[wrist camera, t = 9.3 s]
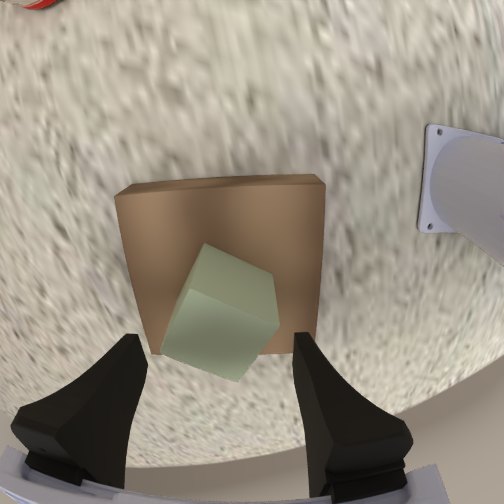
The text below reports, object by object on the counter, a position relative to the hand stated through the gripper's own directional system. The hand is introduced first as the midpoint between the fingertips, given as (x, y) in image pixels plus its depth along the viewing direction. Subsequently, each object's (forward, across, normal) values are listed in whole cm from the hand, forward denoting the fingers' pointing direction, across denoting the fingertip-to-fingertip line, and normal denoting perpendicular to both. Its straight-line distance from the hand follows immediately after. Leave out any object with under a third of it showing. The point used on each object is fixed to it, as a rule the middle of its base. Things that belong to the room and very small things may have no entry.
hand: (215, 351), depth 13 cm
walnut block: (+9, 0, 0) cm, 9 cm away
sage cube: (+6, 0, 0) cm, 6 cm away
